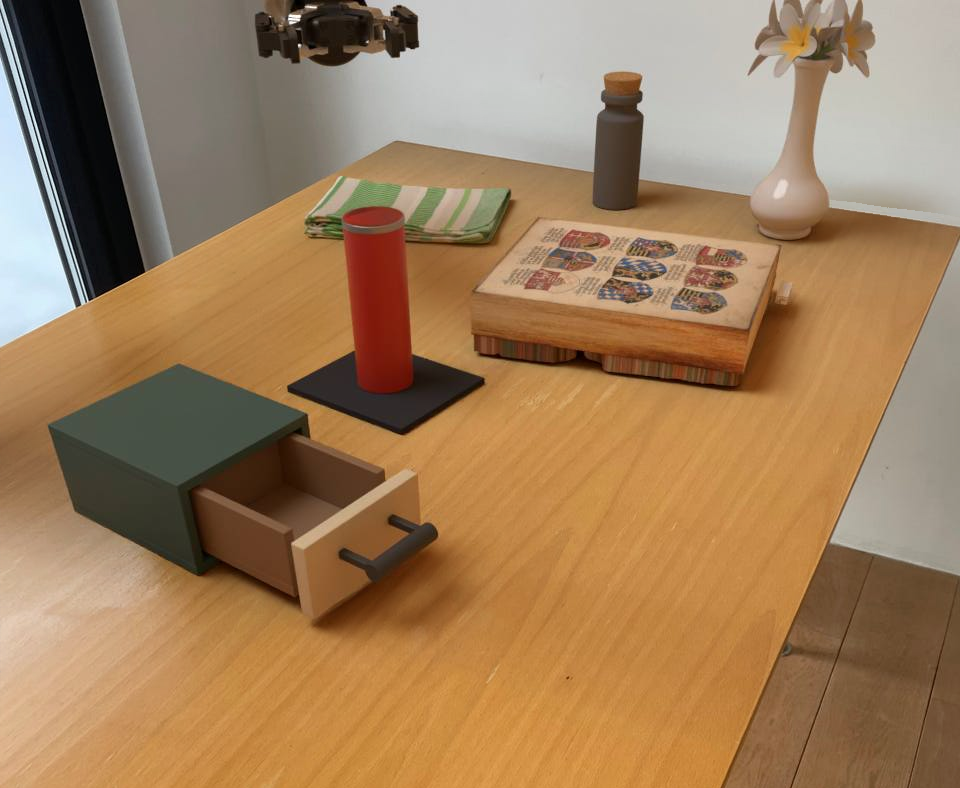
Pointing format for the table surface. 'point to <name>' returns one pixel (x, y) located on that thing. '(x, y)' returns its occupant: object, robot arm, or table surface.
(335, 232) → the dish towel
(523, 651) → the table surface
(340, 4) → the robot arm
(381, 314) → the tin
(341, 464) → the drawer
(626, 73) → the bottle
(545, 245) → the wooden box
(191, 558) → the cabinet
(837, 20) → the flower vase
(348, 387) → the mat
